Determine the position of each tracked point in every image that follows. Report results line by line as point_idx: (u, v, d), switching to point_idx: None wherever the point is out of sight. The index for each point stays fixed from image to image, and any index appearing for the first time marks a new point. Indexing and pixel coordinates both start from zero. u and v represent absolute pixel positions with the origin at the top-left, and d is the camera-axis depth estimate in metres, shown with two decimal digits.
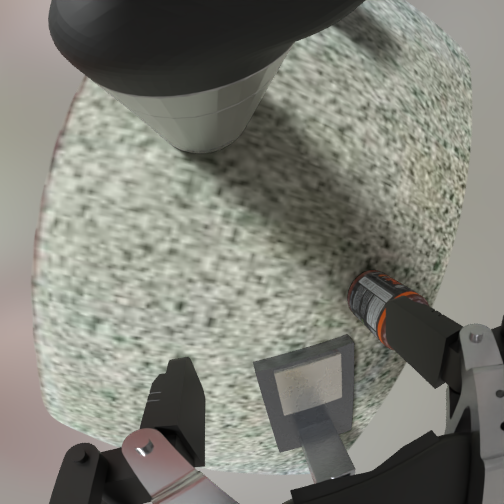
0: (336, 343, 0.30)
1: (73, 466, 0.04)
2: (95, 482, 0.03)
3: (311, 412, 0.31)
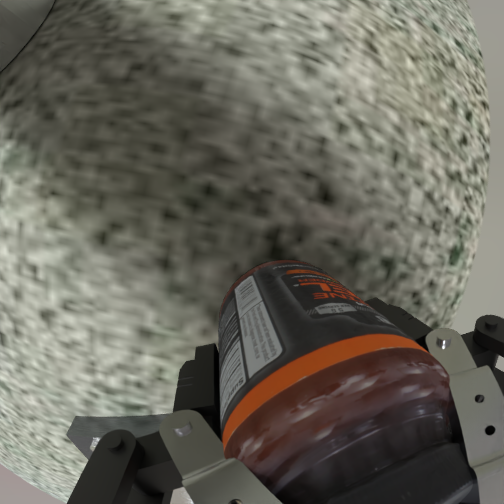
0: None
1: (106, 452, 0.04)
2: (127, 470, 0.04)
3: None
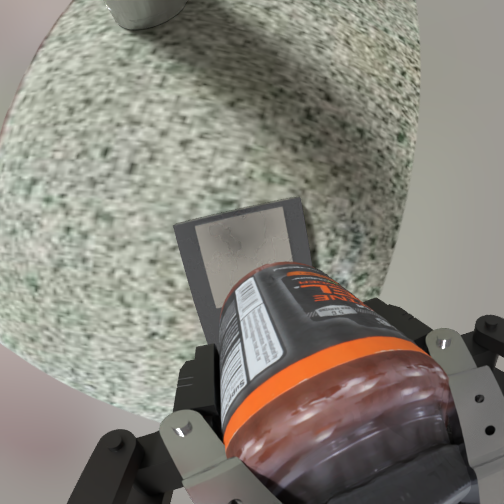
0: (278, 200, 0.26)
1: (106, 452, 0.04)
2: (128, 470, 0.04)
3: None
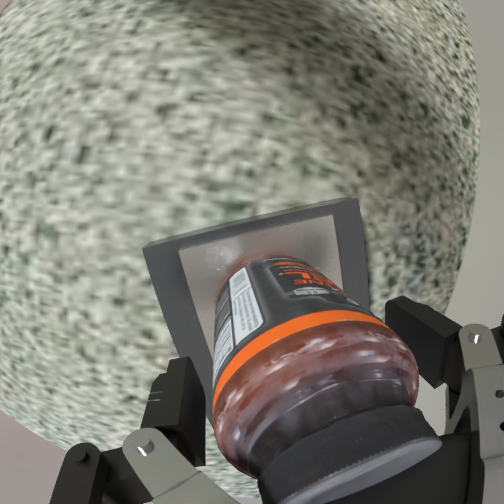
0: (321, 203, 0.15)
1: (74, 466, 0.04)
2: (95, 482, 0.03)
3: None
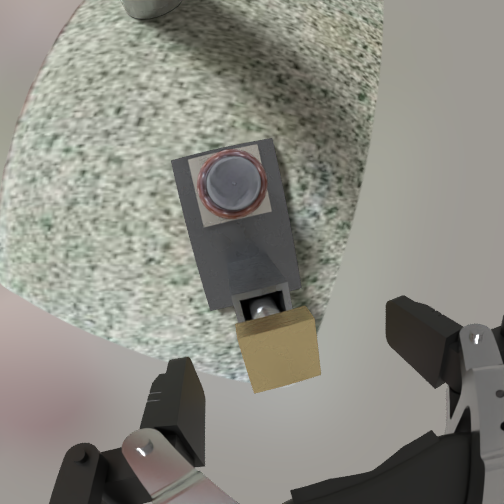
0: None
1: (73, 466, 0.04)
2: (95, 482, 0.03)
3: (238, 233, 0.32)
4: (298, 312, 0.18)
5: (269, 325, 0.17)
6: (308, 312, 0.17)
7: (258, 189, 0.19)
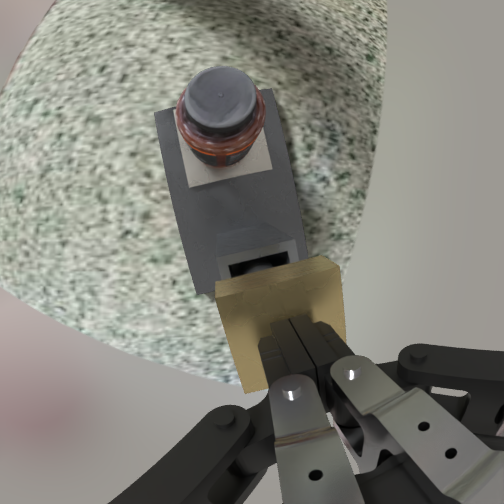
0: None
1: (212, 429, 0.05)
2: (230, 452, 0.05)
3: (231, 196, 0.26)
4: (313, 261, 0.12)
5: (268, 279, 0.11)
6: (328, 261, 0.11)
7: (253, 102, 0.13)
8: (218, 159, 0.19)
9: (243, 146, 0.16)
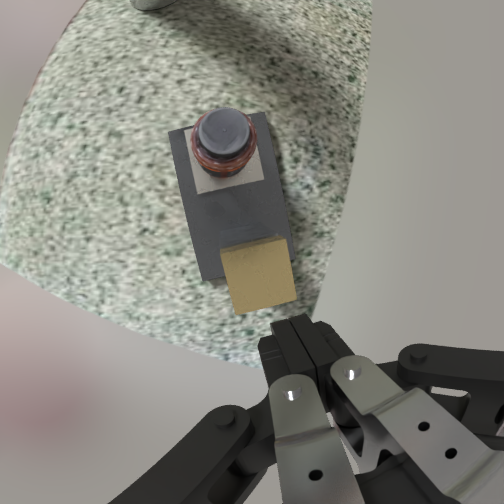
0: None
1: (212, 429, 0.05)
2: (230, 452, 0.05)
3: (231, 201, 0.32)
4: (274, 238, 0.21)
5: (248, 245, 0.21)
6: (281, 237, 0.21)
7: (247, 135, 0.19)
8: (221, 173, 0.25)
9: (240, 165, 0.23)
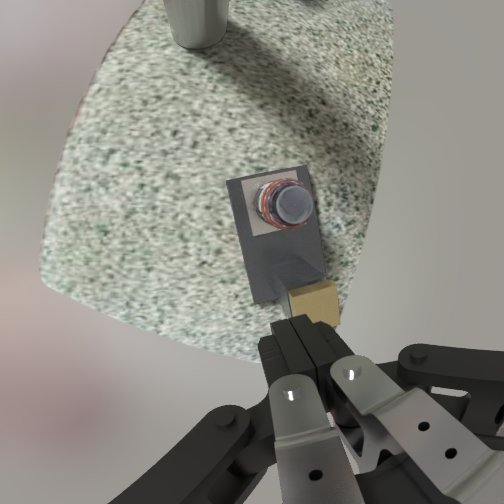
0: None
1: (212, 429, 0.05)
2: (230, 452, 0.05)
3: (280, 241, 0.40)
4: (326, 282, 0.29)
5: (310, 289, 0.29)
6: (332, 282, 0.29)
7: (311, 209, 0.27)
8: None
9: (300, 226, 0.30)
